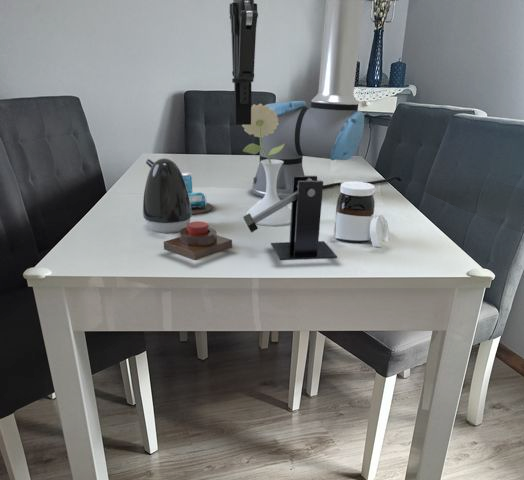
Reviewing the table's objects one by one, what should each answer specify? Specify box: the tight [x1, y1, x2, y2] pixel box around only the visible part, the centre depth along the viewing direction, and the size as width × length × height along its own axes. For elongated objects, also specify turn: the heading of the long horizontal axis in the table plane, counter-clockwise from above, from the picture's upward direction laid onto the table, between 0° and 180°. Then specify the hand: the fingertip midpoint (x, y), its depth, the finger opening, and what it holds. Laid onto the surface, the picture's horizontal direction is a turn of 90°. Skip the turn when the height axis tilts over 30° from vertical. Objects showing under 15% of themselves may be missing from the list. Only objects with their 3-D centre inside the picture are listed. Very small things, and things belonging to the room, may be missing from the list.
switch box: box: [163, 226, 233, 261], centre depth 100 cm, size 10×8×4 cm
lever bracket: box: [270, 175, 338, 261], centre depth 98 cm, size 11×9×15 cm
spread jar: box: [333, 181, 390, 248], centre depth 107 cm, size 12×11×12 cm
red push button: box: [187, 221, 209, 235], centre depth 99 cm, size 4×4×2 cm
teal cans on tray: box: [180, 171, 213, 216], centre depth 127 cm, size 12×12×8 cm
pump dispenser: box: [142, 157, 193, 234], centre depth 109 cm, size 10×10×15 cm
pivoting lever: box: [242, 178, 313, 233], centre depth 96 cm, size 14×6×2 cm, turn 101°
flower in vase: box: [241, 103, 291, 227], centre depth 114 cm, size 13×11×25 cm
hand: (242, 123), depth 92 cm, fingers closed
